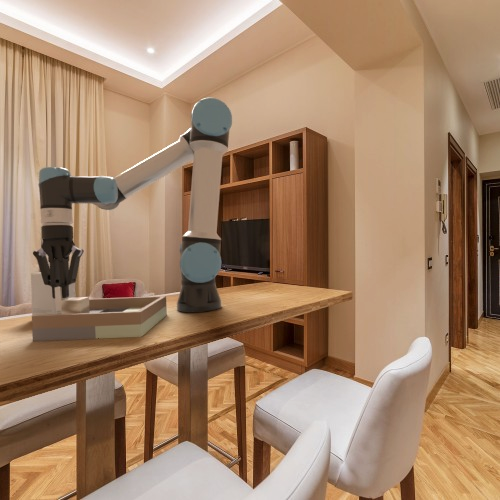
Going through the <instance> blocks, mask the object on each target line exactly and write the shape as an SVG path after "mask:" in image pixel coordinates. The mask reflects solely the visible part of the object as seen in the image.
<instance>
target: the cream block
mask: <svg viewBox="0 0 500 500" xmlns="http://www.w3.org/2000/svg"><path fill="white" fill-rule="evenodd" d="M89 299H90V296H82V297H80V296H78V297H77V296H76V298H69V299H65V300H62V301H61V310H62V314H76V313H90V308H89Z"/></svg>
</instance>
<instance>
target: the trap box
mask: <svg viewBox="0 0 500 500" xmlns="http://www.w3.org/2000/svg"><path fill="white" fill-rule="evenodd" d="M167 307H168V306H167V295H160V296H138V297H137V296H136V297H135V296H133V297H132V296H131V297H128V296H127V297H110V298H109V297H108V298H107V297H105V298H89V308H90V313H76V314H51V315H34V316H32V315H31V330H32V342H44V341H66V340H67V341H69V340H70V341H71V340H94V339H95V340H96V339H98V338H99V339H117V338H118V339H120V338H121V339H122V338H142V337H143V336H144V335H145V334H147V333H148V332H149V331H150V330H151V329H153V327H155V326H156V325H157V324H159V323H160V321H162V320H163V319H164V318H165V317H166V316H167V315H168V314H167V311H168V309H167ZM99 339H98V340H99Z"/></svg>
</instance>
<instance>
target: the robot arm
mask: <svg viewBox="0 0 500 500" xmlns="http://www.w3.org/2000/svg"><path fill="white" fill-rule="evenodd" d="M190 113H191V114H190V119H191V120H190V128H189V129H188V130H187V131H186V132H184V133H183V134H181V135H180V136H179V137H178V140H177V141H175V142H174V143H172V144H170V145H168V146H167V147H165V148H163V149H162V150H160V151H158V152H156V153H154V154H153V155H151V156H149V157H148V158H146V159H144V160H142V161H139V163H137V164H135V165H133V166H132V167H130V168H127V169H126V170H124V171H123V172H121V173H119V174H118V175H116V176H115V177H112V176H104V175H99V176H79V175H78V176H76V175H75V176H74V175H71V172H70V170H69V169H67V168H64V167H56V166H48V167H43V168H41V169H40V170H39V172H38V183H37V184H38V191H39V203H40V206H39V209H40V223H41V224H42V226H41V227H40V230H41V233H40V234H41V238H42V244H41V246H40V248H39V249H38V250H33V251H32V255H33V256H34V257H35V259H36V261H37V264H38V268H39V271H40V272H41V275H42V278H43V282H44V284H45V285H49V286H51V287H52V297H53V298H55V304H56V311H62V310H61V301H62V300H65V299H66V298H67V297H69V285H70V284H73V283H75V284H76V281H77V277H78V271H79V268H80V267H79V266H80V262H81V257H82V256H83V254H84V249H83V248H82V249H81V248H79V247H77V246H76V244H75V242H74V227H73V226H72V224H73V223H74V221H73V207H72V206H73V204H92V205H94V206H97V208H99V209H101V210H105V211H112V210H115V209H117V208H118V206H119V205H120V203H122V202H124V201H125V200H127V199H128V198H130V197H131V196H133V195H136V193H138V192H140V191H142V190H144V189H146V188H147V187H148V186H150V185H152V184H154V183H155V182H157V181H159V180H161V179H162V178H164V177H166V176H168V175H169V174H171V173H173V172H174V171H176V170H178V169H180V168H181V167H183V166H184V165H186V164H188V163H190V162H192V175H191V186H190V187H191V188H190V201H189V214H188V215H189V216H188V224H187V225H188V226H187V228H188V229H187V231H186V232H185V233H184V234H183V235H182V236H181V237H182V238H181V243H180V245H179V250H178V251H179V256H180V257H179V268H180V283H181V284H180V285H181V287H180V290H179V295H178V297H177V301H176V310H177V311H179V312H183V313H201V312H203V313H205V312H211V311H215V310H219V309H221V308H222V299H221V297H220V294H219V291H218V288H217V286H216V276H217V275H218V274H219V272H220V270H221V267H222V257H221V245H222V244H221V243H222V238H221V236H219V235H218V233H217V232H218V231H217V230H218V229H217V228H218V217H219V205H220V204H219V203H220V192H221V180H222V179H221V177H222V167H223V166H222V165H223V163H222V162H223V155H225V154H226V153H227V152H228V151H229V142H230V141H229V138H230V130H231V127H232V126H233V115H232V112H231V110H230V108H229V106H228V105H227V104H226V103H225V102H224V101H222V100H221V99H219V98H216V97H204V98H201V99H200V100H199V101H197V102H196V103H195V104H194V106H193V108H192V110H191V112H190ZM46 255H47V256H46ZM70 255H71V257H70ZM69 262H70V263H69Z"/></svg>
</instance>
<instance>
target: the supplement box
mask: <svg viewBox="0 0 500 500" xmlns="http://www.w3.org/2000/svg"><path fill="white" fill-rule="evenodd" d="M30 287H31V291H30V292H31V317H32V316H34V315H51V314H62V311H56V304H55V298H53V297H52V287H51V286H49V285H45V284H44V282H43V278H42V275H41V272H39V271H38V272H32V273H30ZM76 297H77V295H76V282H75V283H73V284H70V285H69V297H67V298H66V299H69V298H76Z"/></svg>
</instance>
